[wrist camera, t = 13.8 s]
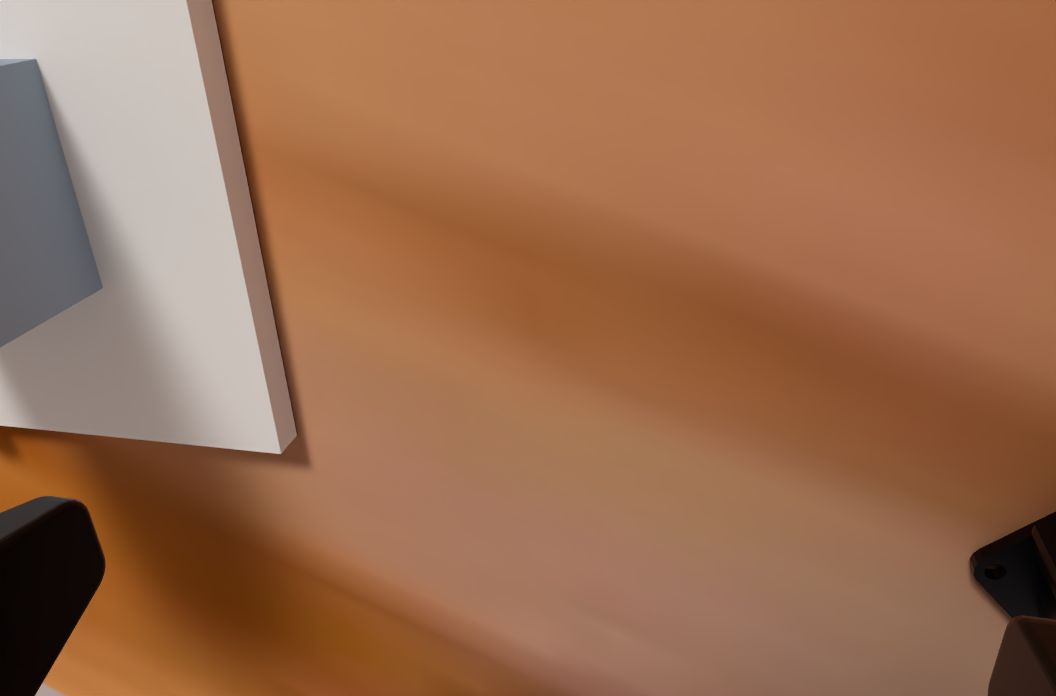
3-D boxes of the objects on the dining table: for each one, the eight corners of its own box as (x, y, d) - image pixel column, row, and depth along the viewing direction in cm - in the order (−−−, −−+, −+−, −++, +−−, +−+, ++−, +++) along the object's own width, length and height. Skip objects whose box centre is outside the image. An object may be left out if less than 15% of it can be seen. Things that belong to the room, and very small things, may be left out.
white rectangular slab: (173, -197, 18) (117, -209, 16) (296, 435, 25) (267, 470, 23) (-261, -160, 20) (-345, -167, 19) (-34, 403, 27) (-81, 432, 26)
